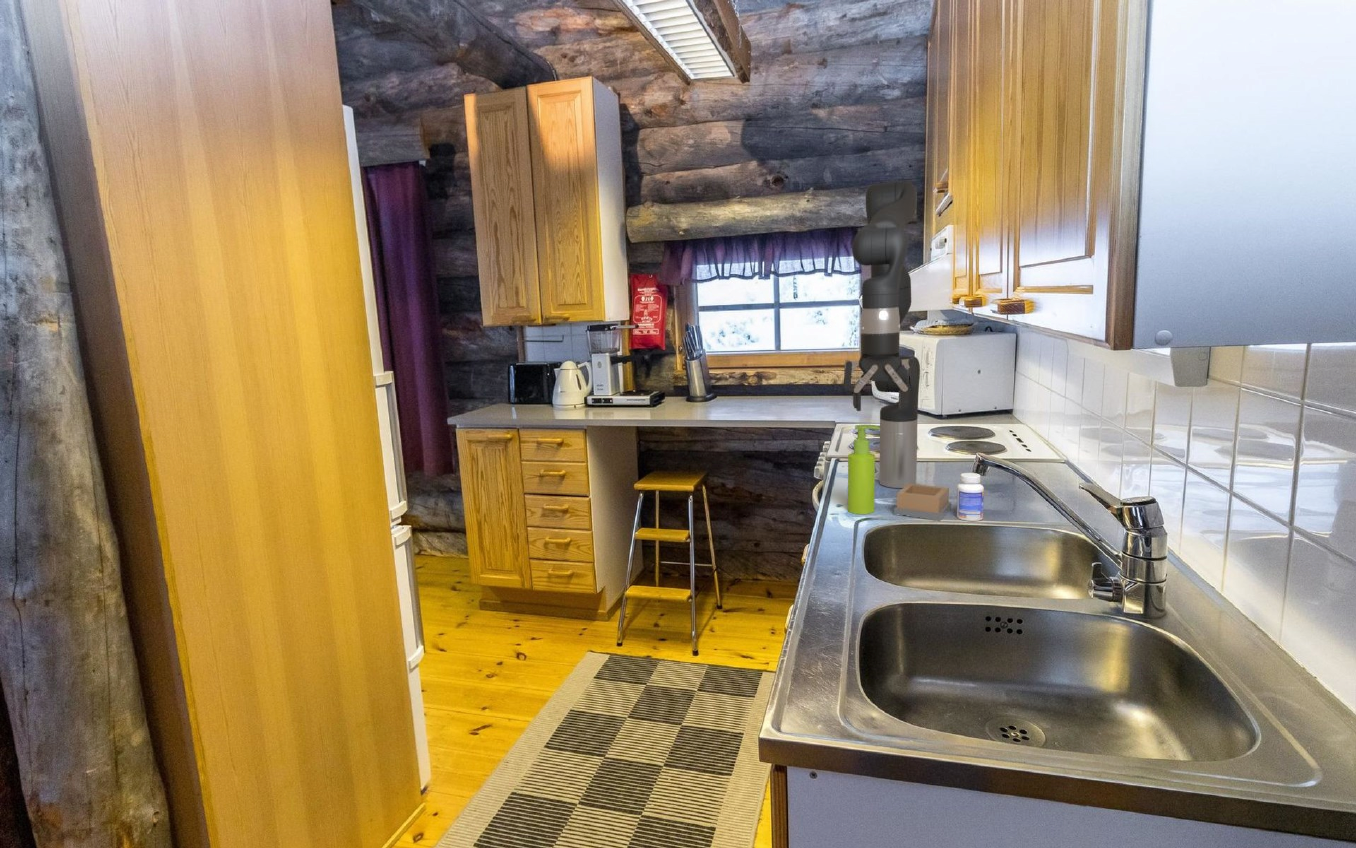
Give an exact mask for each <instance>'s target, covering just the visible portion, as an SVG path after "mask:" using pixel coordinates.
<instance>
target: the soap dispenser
mask: <svg viewBox="0 0 1356 848" xmlns="http://www.w3.org/2000/svg"><path fill="white" fill-rule="evenodd" d="M854 429H855V430H857V438H855V439H853V452H852V453H849V454H848V455H847V460H848V461H847V467H848V468H847V473H848V474H847V511H848V512H849V513H851V514H855V515H869V514H868V513H871V514H873V513H875V496H876V495H875V492H876V491H875V490H876V489H875V488H876V487H875V485H876V484H875V483H876V482H875V481H876V478H875V477H876V475H875V473H876V471H875V470H876V467H875V466H876V465H875V464H876V456H875V454H873V453H870V440H869V438H866V430H878V431H880V425H879V426H878V425H874V424H857V425H855V426H854Z"/></svg>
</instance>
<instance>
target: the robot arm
mask: <svg viewBox="0 0 1356 848" xmlns="http://www.w3.org/2000/svg"><path fill="white" fill-rule="evenodd" d="M916 193H917V192H916V188H915V186H914V184H913V182H911V181H909V180H897V181H896V180H895V181H890V182H889V181H888V182H881V183H874V184H870V185H869V186H868V187H867V188H866V192H865V212H866V222H867V224H866V225H863V227H861V228H860V229H859V230H858V231H857V233H856V234H855V236H854V238H853V241H852V244H851V247H852V248H851V250H852V252H851V253H852V257H853V259H854V260H855V262H857V263H858V264H859V265H861V266H866V267H867V266H870V273H871V274H870V277H871V278H867V279H865V280H864V281H863V282H862V286H861V295H862V296H861V306H862V307H861V316H860V357H859V360H849V359H847V360H845V362H844V371H843V373H844V375H843V388H844V390H845V391H850V392H852V405H853V406H852V407H853V409H855V410H856V412H861V411H862V407H861V406H862V403H861V402H862V393H861V390H862V389H863V388H864V386H865V385H866V384H867V383H868V382H869V381H871V382H874V384H875V385H874V386H875V388H876V390H877V391H878V392H881V393H896V394H897V393H898V401H896V402H894V403H890V404H888V405H885V406H883V407H881V408H880V411H879V427H880V429H879V467H878V469H879V476H878V477H879V479H878V480H879V481H878V483H879V485H881V486H883V487H887V488H895V489H903V488H904V487H905V486H906V485H908V484H917V472H918V471H917V465H918V422H919V421H918V417H919V415H918V413H919V412H918V411H919V392H920V391H919V390H920V379H921V377H920V376H921V366H920V365H921V364H920V361H919V359H918V358H917V357H916V356H913V355H909V356H906V355H905V356H903V355H900V336H901V335H900V333H901V332H900V330H901V324H902V323H903V321H904V320H905V318H906V316H907V315H908V312H909V311H910V309H911V306H912V281H911V280H912V279H911V275H910V273H909V272H908V270H907V268H906V267H905V265H904V264H905V263H904V262H905V260H906V257H907V254H908V250H909V247H910V239H909V235H908V233H907V232H906V231H907V230H905V227H906V226H907V225H908V224H909V223H910V221H912V219H914V216H915V212H916V209H917V194H916ZM857 367H859V369H860V370H861V371H862V373H861V375H860V376H859V378H858V379H857V380H856V383H854V384H852V373H854V372H855V371H856V369H857Z"/></svg>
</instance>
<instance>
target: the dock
mask: <svg viewBox="0 0 1356 848" xmlns="http://www.w3.org/2000/svg"><path fill="white" fill-rule="evenodd" d="M949 491H950V487H944V486H943V487H942V486H937V485H936V486H934V485H927V484H917V483H916V484H908V485H906V486H905V487H904V488H900V490H899V491H898V492H897V493H896V506H895V507H894V508H893V515H894V514H899V515H909V516H913V517H912V518H914V517H921V518H926V519H925V520H930V521H936V520H941V521H942V520H943V519H944V517H945V516H946V515H947V514H948V513H949V512H950V511H951V509H952V502H951V501H949V497H950V496H949V495H950V492H949ZM899 515H898V516H899ZM921 518H920V519H921Z"/></svg>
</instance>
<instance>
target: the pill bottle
mask: <svg viewBox="0 0 1356 848" xmlns="http://www.w3.org/2000/svg"><path fill="white" fill-rule="evenodd" d="M959 480H960V483H958V484H957V486H956V518H957V519H959V520H961V521H964V522H979V521H980V522H981V521H982V520H983V519H984V503H985V501H984V499H985V496H984V495H985V494H984V493H985V492H984V491H985V487H984V486H983V484H981V474H979V473H976V472H963V473H961V474H960V479H959Z"/></svg>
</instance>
